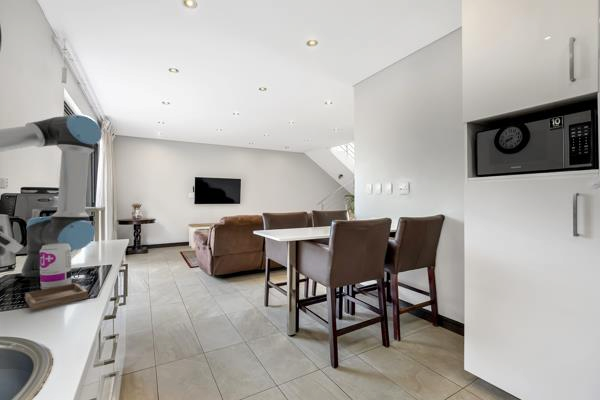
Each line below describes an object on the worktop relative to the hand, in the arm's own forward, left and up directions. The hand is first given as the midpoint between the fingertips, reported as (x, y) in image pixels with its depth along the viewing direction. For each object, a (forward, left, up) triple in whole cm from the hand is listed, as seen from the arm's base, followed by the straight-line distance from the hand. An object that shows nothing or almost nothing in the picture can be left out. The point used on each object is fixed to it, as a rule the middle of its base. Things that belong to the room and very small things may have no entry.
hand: (16, 247), depth 88 cm
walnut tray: (+14, +7, -16) cm, 22 cm away
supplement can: (0, +10, -16) cm, 19 cm away
